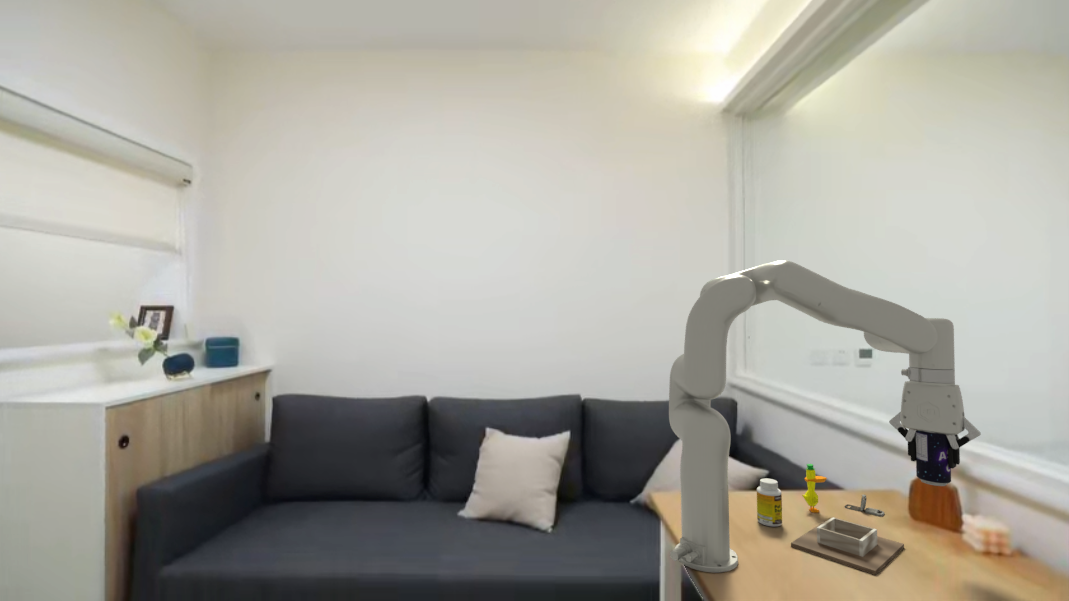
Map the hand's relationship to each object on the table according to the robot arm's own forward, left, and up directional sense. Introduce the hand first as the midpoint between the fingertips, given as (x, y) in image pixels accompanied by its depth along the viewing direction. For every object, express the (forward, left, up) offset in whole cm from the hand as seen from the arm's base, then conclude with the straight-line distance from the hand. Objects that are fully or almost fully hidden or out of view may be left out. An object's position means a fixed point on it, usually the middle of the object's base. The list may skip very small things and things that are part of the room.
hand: (933, 462), depth 105 cm
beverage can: (0, 0, -4) cm, 4 cm away
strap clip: (+17, +19, -20) cm, 32 cm away
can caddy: (-9, +14, -20) cm, 25 cm away
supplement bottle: (-9, +31, -20) cm, 38 cm away
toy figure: (+7, +27, -20) cm, 34 cm away
